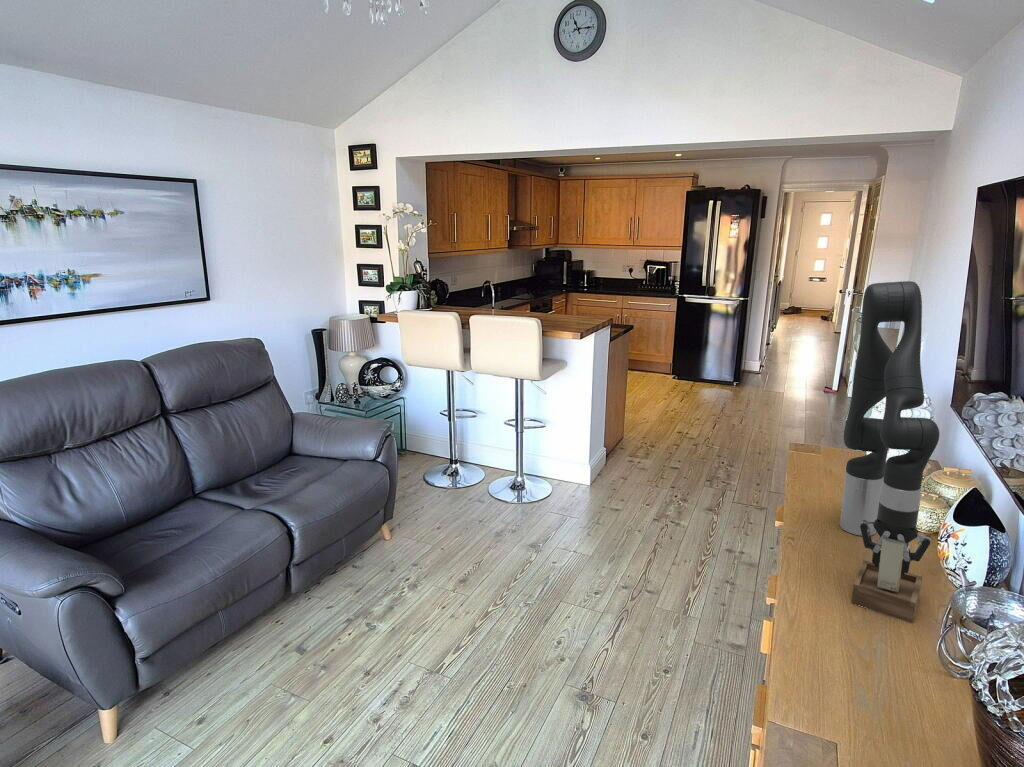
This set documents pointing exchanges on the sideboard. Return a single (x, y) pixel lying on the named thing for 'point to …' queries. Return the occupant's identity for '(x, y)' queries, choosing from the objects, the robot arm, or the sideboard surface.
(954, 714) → the sideboard surface
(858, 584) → the brown wooden tray
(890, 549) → the skincare box
